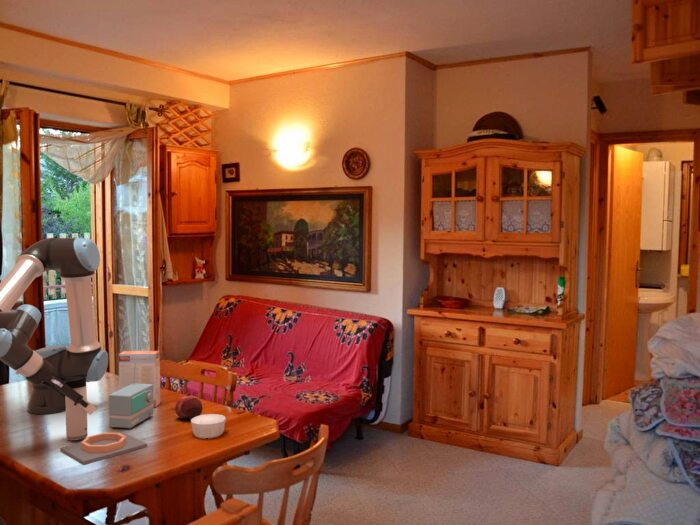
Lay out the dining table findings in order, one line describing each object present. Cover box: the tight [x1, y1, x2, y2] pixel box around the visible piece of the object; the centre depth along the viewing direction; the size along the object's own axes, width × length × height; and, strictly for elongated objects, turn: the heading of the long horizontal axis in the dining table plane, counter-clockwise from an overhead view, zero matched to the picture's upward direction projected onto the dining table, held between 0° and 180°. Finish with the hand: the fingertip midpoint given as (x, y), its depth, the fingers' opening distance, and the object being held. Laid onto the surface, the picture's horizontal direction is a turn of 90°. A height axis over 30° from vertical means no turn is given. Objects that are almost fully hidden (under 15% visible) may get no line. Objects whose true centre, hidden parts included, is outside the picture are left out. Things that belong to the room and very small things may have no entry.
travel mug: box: [65, 374, 89, 441], centre depth 199 cm, size 6×7×20 cm
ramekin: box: [190, 413, 227, 439], centre depth 206 cm, size 11×11×5 cm
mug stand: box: [59, 431, 148, 466], centre depth 192 cm, size 16×20×3 cm
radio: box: [108, 362, 155, 429], centre depth 217 cm, size 16×9×20 cm, turn 169°
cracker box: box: [118, 350, 161, 408], centre depth 237 cm, size 14×6×21 cm, turn 89°
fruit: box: [174, 390, 203, 420], centre depth 222 cm, size 9×10×10 cm
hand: (87, 408), depth 202 cm, fingers closed on travel mug, 6 cm apart
